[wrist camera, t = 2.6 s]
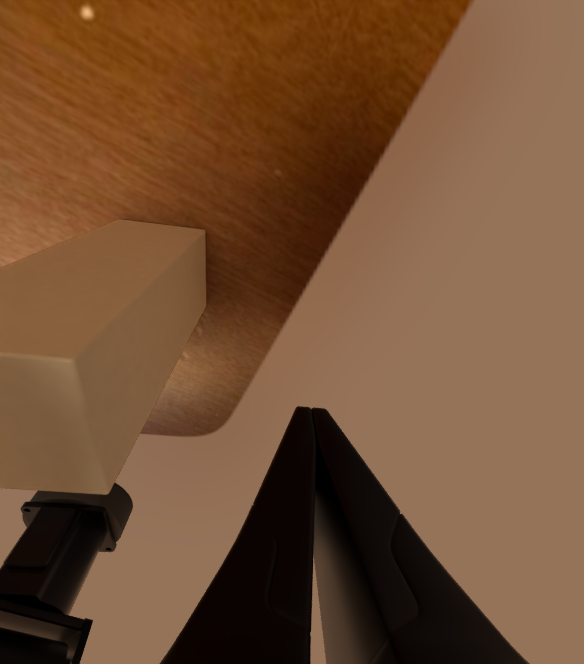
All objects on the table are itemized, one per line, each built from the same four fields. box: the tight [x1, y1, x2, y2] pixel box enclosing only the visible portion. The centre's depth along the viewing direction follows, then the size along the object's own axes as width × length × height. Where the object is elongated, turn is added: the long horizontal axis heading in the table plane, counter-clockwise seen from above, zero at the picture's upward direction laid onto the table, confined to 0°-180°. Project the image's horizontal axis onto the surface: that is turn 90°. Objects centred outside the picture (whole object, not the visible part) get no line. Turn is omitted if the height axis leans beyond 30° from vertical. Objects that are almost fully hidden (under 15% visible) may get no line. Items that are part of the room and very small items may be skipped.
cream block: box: [0, 219, 206, 495], centre depth 12 cm, size 4×4×12 cm
